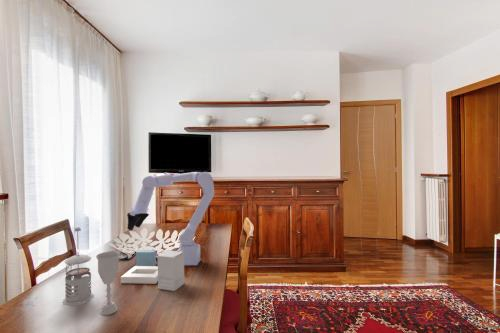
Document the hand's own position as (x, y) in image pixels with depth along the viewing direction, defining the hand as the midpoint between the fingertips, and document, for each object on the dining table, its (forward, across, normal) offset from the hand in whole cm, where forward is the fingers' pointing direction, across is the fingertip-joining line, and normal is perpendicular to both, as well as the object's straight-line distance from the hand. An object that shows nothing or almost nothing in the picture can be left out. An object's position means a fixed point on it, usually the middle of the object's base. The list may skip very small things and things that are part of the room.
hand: (133, 228), depth 134 cm
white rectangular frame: (+13, +13, +16) cm, 25 cm away
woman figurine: (+19, -15, -2) cm, 24 cm away
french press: (+20, +32, +2) cm, 38 cm away
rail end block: (+14, 0, +12) cm, 18 cm away
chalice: (+15, +40, +17) cm, 46 cm away
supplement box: (+9, +21, +30) cm, 38 cm away
